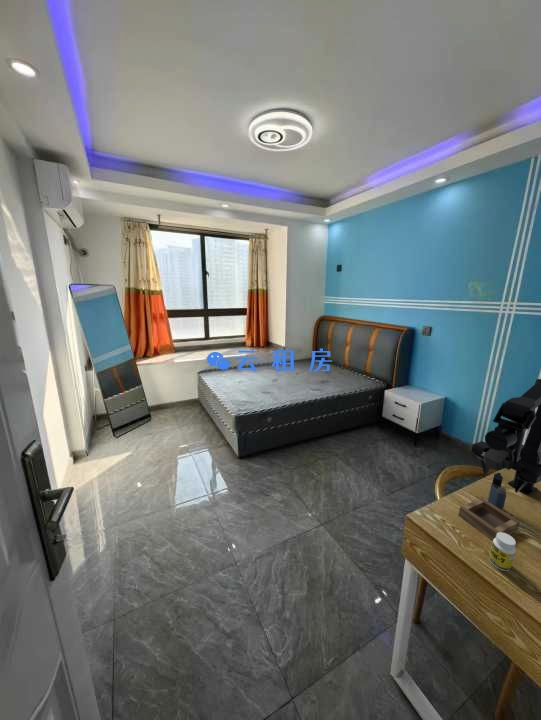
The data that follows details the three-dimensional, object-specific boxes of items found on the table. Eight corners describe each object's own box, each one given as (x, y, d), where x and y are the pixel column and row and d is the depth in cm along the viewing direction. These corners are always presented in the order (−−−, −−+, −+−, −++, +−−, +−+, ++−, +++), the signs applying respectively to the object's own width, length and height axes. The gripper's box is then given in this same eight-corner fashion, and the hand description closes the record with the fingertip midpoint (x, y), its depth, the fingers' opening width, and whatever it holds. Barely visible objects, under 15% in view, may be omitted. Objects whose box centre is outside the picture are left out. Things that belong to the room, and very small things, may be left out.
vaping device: (493, 501, 99) (500, 471, 96) (503, 513, 94) (511, 482, 91) (485, 501, 100) (492, 471, 96) (495, 512, 95) (503, 481, 91)
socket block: (480, 505, 98) (481, 497, 97) (517, 529, 88) (519, 521, 87) (458, 515, 94) (459, 507, 93) (495, 542, 84) (497, 533, 83)
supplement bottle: (484, 558, 79) (490, 533, 77) (495, 552, 81) (502, 528, 78) (503, 574, 75) (510, 548, 72) (515, 568, 76) (522, 542, 74)
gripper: (463, 432, 96) (456, 472, 100) (531, 463, 79) (518, 510, 83) (485, 425, 100) (477, 464, 104) (553, 453, 83) (540, 499, 87)
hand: (500, 482), depth 95 cm, fingers open, 9 cm apart
